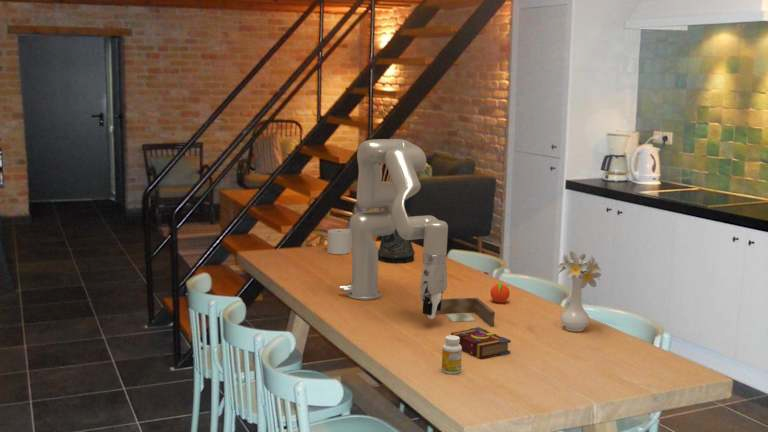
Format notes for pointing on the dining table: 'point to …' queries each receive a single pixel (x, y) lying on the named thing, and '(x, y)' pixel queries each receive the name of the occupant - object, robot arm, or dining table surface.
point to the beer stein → (395, 248)
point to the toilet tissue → (339, 241)
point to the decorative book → (482, 343)
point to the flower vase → (578, 289)
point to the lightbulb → (434, 304)
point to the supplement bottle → (451, 355)
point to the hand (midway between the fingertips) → (431, 311)
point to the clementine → (500, 293)
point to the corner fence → (466, 310)
